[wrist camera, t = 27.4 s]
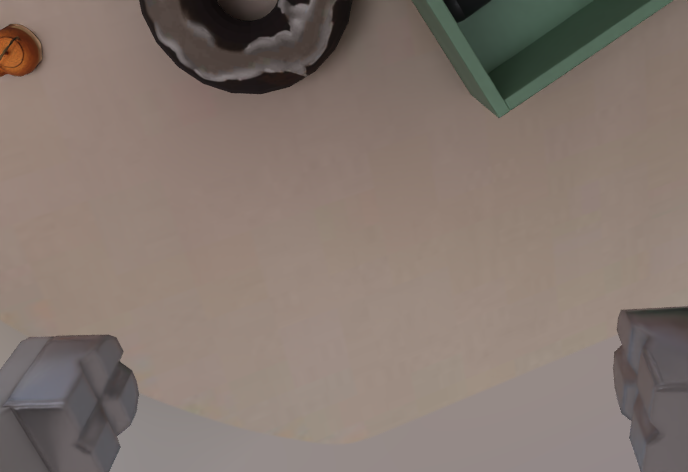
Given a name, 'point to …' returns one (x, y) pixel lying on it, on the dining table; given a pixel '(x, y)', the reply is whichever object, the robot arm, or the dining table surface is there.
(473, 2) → the black mallet
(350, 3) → the donut
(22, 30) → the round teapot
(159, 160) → the dining table surface
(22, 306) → the dining table surface
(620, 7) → the utensil tray
